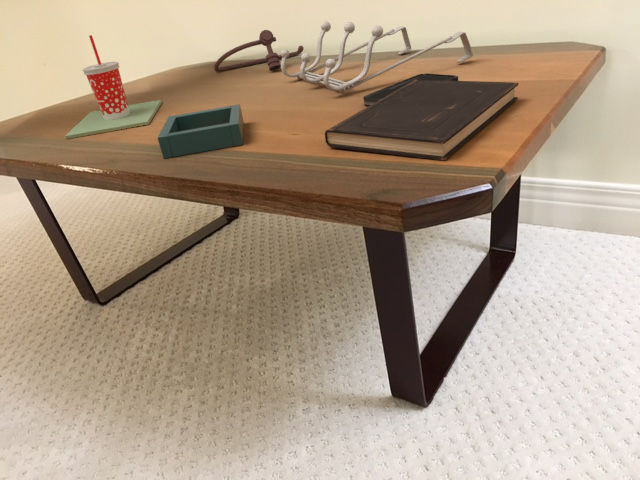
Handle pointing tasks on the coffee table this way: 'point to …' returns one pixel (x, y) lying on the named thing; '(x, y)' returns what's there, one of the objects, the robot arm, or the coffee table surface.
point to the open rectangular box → (202, 131)
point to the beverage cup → (107, 87)
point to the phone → (388, 90)
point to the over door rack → (376, 35)
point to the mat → (115, 120)
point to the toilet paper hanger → (271, 59)
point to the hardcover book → (424, 118)
